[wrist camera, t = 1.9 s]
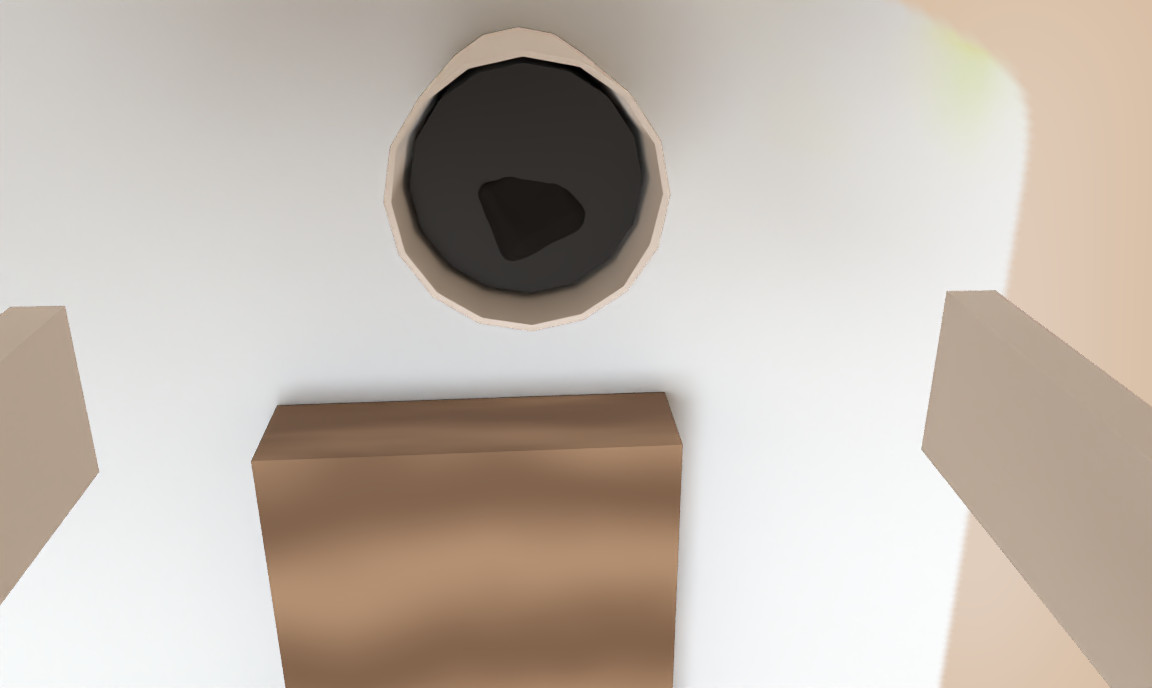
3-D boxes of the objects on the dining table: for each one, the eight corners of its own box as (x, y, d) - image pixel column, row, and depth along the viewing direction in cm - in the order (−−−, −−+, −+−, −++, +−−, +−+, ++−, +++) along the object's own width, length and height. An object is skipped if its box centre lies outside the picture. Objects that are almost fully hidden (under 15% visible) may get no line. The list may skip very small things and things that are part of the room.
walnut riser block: (277, 405, 36) (251, 461, 32) (664, 392, 36) (682, 444, 33) (323, 745, 42) (306, 824, 38) (653, 727, 43) (667, 803, 39)
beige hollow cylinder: (652, 171, 33) (710, 266, 24) (471, 249, 34) (460, 371, 25) (574, -24, 31) (606, -1, 21) (380, 65, 31) (330, 124, 22)
